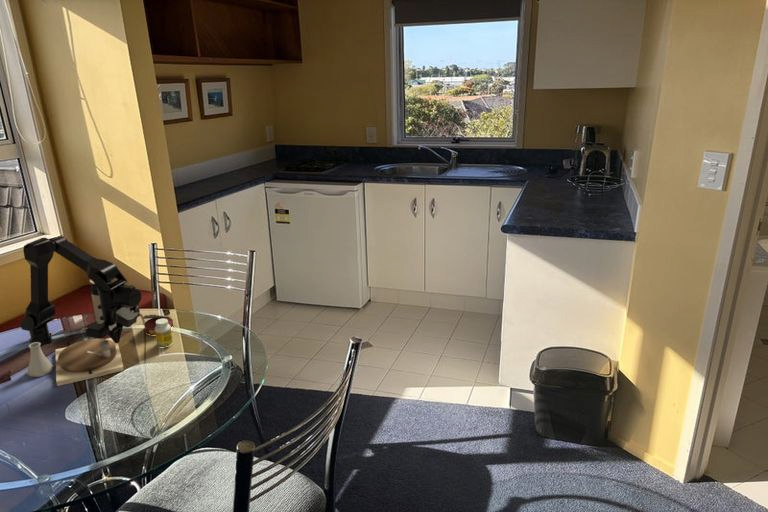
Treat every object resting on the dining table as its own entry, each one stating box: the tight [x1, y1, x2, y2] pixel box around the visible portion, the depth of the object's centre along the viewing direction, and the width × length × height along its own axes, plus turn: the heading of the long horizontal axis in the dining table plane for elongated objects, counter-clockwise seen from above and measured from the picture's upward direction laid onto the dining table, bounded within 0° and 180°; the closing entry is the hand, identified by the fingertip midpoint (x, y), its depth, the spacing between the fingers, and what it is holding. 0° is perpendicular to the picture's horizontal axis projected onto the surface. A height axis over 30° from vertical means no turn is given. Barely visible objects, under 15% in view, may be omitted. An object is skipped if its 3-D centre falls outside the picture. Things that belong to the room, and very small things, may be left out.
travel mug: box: [89, 279, 113, 324], centre depth 205 cm, size 8×8×18 cm
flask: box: [26, 342, 55, 378], centre depth 177 cm, size 7×7×10 cm
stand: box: [55, 337, 125, 387], centre depth 184 cm, size 21×19×2 cm
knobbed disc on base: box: [58, 338, 117, 372], centre depth 182 cm, size 17×17×7 cm
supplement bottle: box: [155, 318, 174, 348], centre depth 194 cm, size 5×5×10 cm
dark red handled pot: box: [142, 314, 174, 335], centre depth 204 cm, size 11×10×10 cm
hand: (117, 342), depth 185 cm, fingers closed
